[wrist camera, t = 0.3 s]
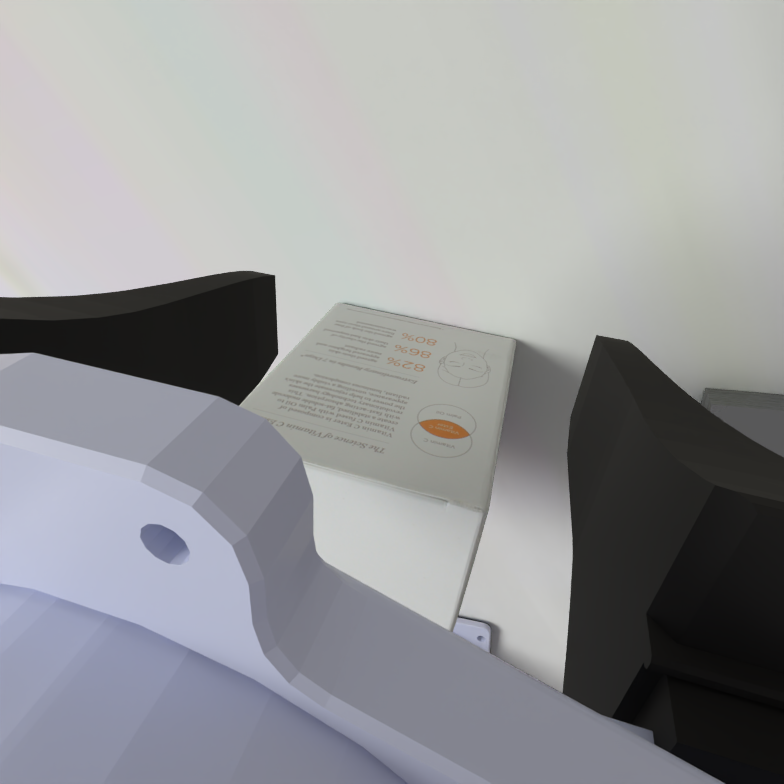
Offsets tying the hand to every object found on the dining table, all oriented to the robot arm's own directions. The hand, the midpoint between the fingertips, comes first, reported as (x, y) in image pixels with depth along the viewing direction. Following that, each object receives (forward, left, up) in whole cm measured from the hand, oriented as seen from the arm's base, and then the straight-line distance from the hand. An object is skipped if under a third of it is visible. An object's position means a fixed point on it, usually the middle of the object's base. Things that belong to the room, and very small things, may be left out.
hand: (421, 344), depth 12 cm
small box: (-6, +3, -10) cm, 12 cm away
